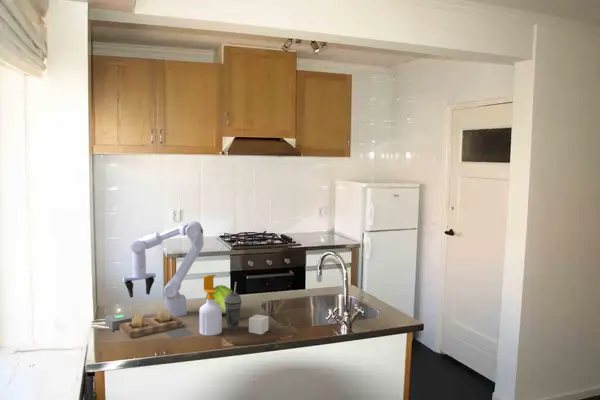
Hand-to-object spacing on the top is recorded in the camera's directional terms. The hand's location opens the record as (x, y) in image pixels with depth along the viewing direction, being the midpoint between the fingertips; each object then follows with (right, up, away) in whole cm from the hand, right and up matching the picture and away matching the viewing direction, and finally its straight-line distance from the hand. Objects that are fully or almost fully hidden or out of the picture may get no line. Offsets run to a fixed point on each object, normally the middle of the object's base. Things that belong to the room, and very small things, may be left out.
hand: (139, 295), depth 230 cm
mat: (+23, -12, -21) cm, 34 cm away
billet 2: (+14, -11, -13) cm, 22 cm away
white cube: (+55, -12, -16) cm, 58 cm away
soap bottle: (+35, -12, -19) cm, 42 cm away
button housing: (-4, -11, -13) cm, 17 cm away
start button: (-4, -9, -13) cm, 17 cm away
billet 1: (+6, -11, -20) cm, 24 cm away
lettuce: (+37, -10, +5) cm, 38 cm away
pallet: (+10, -11, -17) cm, 22 cm away
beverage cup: (+44, -12, -14) cm, 47 cm away
